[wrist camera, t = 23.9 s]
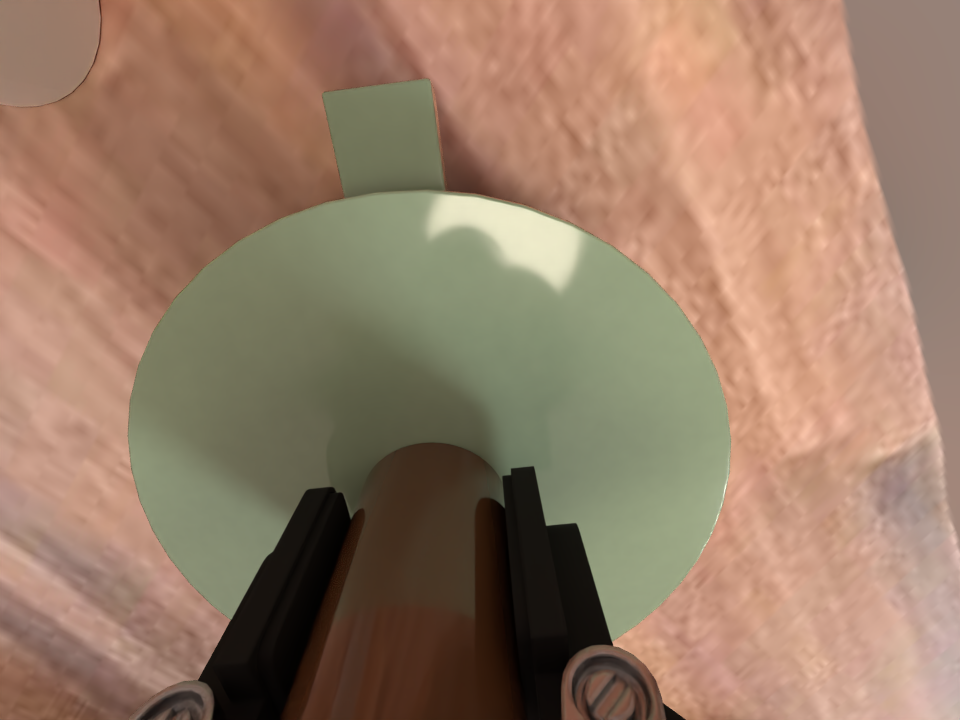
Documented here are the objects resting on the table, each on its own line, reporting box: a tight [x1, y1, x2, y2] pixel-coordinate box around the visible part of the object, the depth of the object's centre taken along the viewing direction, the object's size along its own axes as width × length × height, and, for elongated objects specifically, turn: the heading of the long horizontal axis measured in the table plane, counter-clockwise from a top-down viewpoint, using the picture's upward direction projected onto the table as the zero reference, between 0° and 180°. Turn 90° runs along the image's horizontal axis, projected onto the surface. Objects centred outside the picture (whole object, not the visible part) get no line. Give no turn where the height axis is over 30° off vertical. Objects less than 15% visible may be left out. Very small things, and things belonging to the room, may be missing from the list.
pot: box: [322, 78, 448, 198], centre depth 16 cm, size 14×19×8 cm
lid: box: [128, 189, 731, 720], centre depth 9 cm, size 15×15×7 cm
